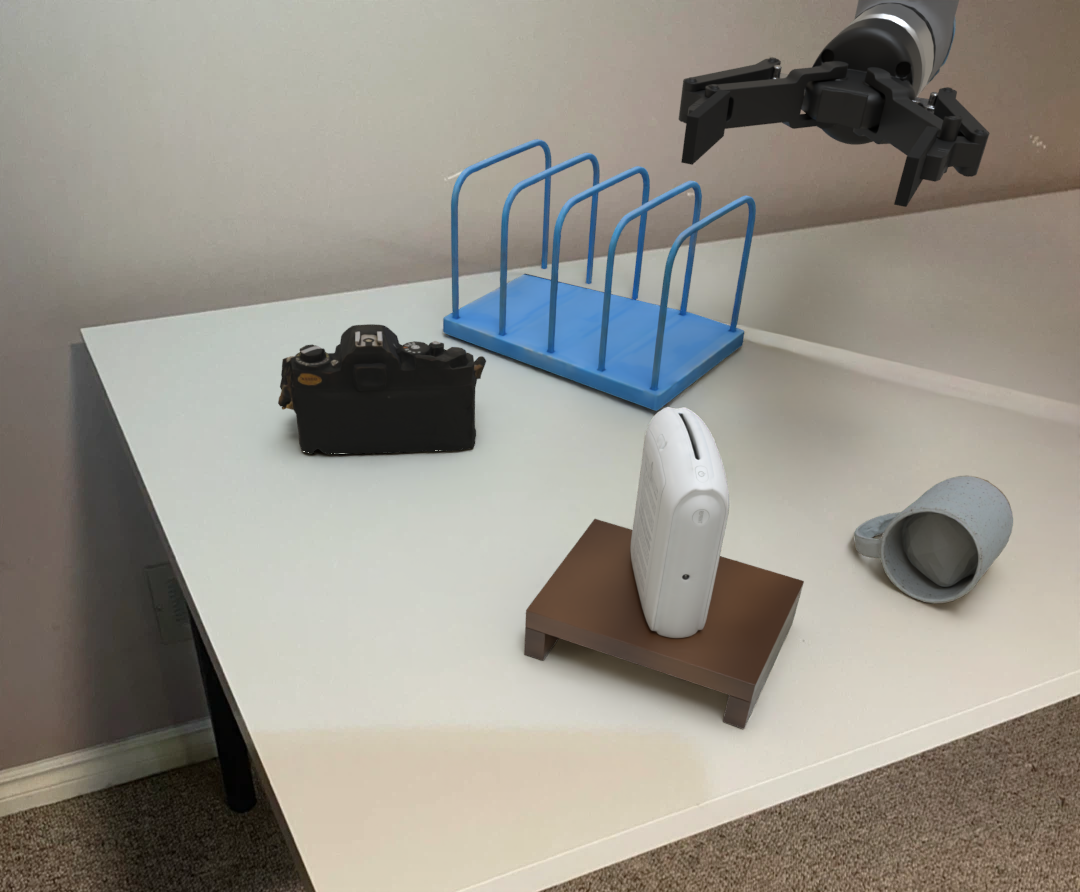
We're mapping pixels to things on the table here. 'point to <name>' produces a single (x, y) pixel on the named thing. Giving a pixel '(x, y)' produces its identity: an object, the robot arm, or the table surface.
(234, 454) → the table surface
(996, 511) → the ceramic mug
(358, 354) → the film camera
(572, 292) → the file sorter
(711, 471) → the photo printer
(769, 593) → the shelf
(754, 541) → the table surface
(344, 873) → the table surface
